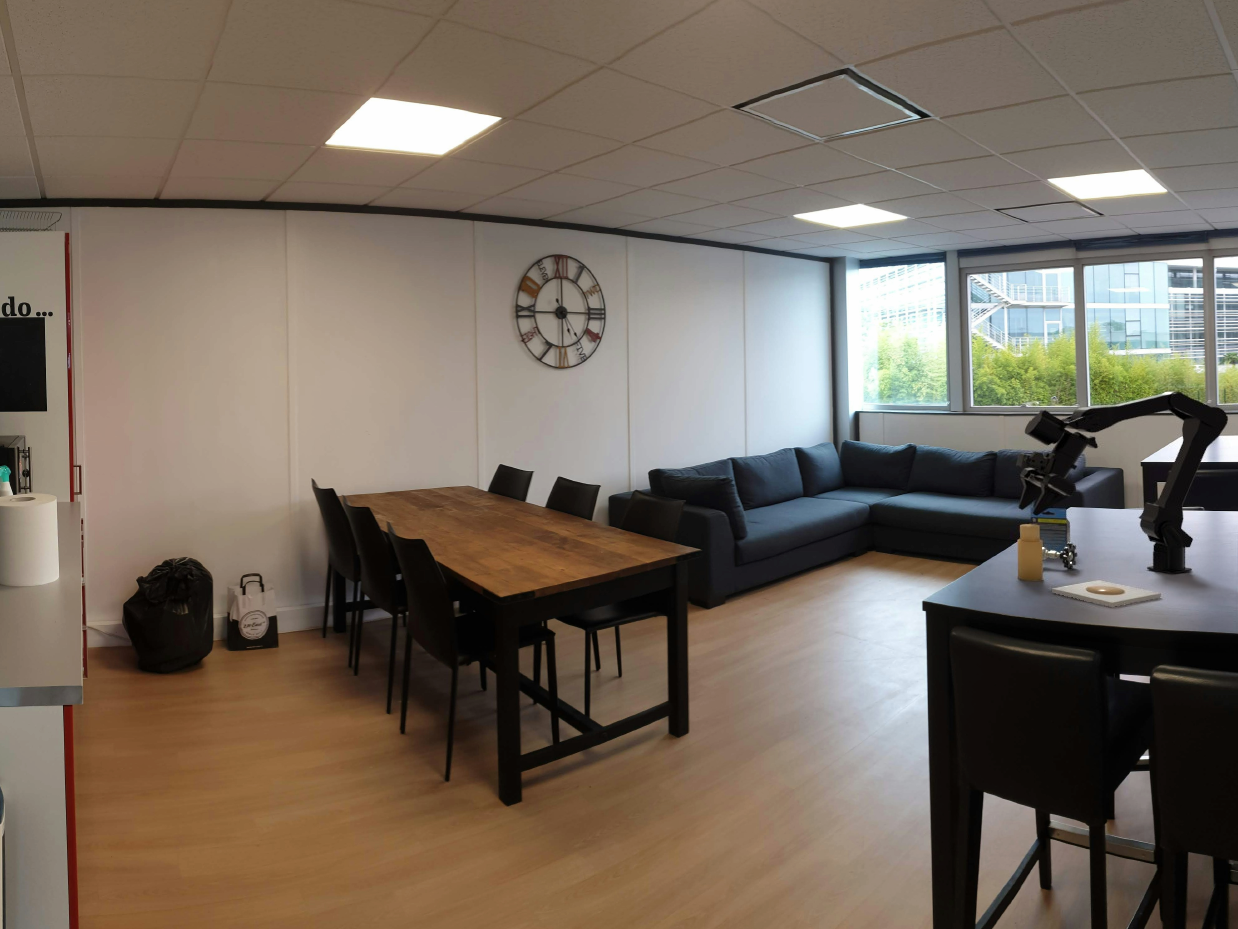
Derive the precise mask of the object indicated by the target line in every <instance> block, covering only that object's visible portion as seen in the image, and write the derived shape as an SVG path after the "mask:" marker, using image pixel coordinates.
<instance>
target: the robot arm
mask: <svg viewBox="0 0 1238 929" xmlns="http://www.w3.org/2000/svg"><path fill="white" fill-rule="evenodd" d="M1166 411H1169V412H1170V413H1171V414H1173V416H1175V417H1176V418H1178V419H1180V420H1181V421H1183V423H1182V426H1181V427H1182V428H1181V432H1182V442H1181V445H1180V448H1179V451H1178V452H1177V456H1176V458H1175V460H1174V462H1173V464H1172V467H1171V469H1170V471H1169V473H1168V476H1167V478H1166V481H1165V483H1164V485H1163V488H1162V490H1161V492H1160V495H1159V497H1158V499H1157V500H1155V501H1154V502H1153V503H1149V502H1145V504H1144V505H1143V506H1144V507H1143V510H1142V512H1141V514H1140V516H1138V519H1140V522H1139V527H1140V529H1141V530H1142V532H1143V533H1144V534H1145V535H1146V536H1147V537H1148V538H1147V539H1148V540H1149V541H1150V542H1153V543H1154V544H1153V549H1152V550H1153V551H1152V565H1151V566H1147V567H1146V569H1147V570H1150V571H1156V572H1160V573H1161V572H1162V573H1166V574H1170V575H1172V574H1173V575H1175V574H1180V573H1186V572H1193V568H1191V567H1186V548H1191V546H1192V543H1193V540H1194V538H1193V537H1192V536H1191V535H1189V534H1188V533H1187V532H1186V531H1185V530H1183V529H1182V528H1183V527H1182V526H1183V523H1184V510H1183V505H1184V502H1185V500H1186V497H1187V495H1188V493H1189V490H1190V488H1191V486H1192V484H1193V481H1194V479H1195V477H1196V474H1197V471H1198V470H1199V467H1200V466H1201V463H1202V460H1203V458H1204V455H1205V453H1206V451H1207V449H1208V447H1209V446H1210V445H1212V443H1213V442H1215V441H1216V440H1217V439H1218V438H1219V437H1220V435H1221V433H1222V432H1223V430H1224V429H1225V428H1226V426H1227V425H1228V421H1229V417H1228V415H1227V414H1226V412H1225V410H1224V409H1222V408H1220V407H1217V406H1209V405H1208V404H1207V403H1204V402H1202V401H1199V400H1196V399H1194V398H1192V397H1190V396H1188V395H1186V394H1185V393H1183V392H1181V391H1165V392H1163V393H1160V394H1156V395H1152V396H1147V397H1143V398H1139V399H1135V400H1131V401H1127V402H1122V403H1117V404H1114V405H1105V406H1104V405H1101V406H1086V407H1079V408H1077V409H1075V410H1074V411H1073V412H1072V414H1071V415H1068V416H1067V417H1065V418H1062V419H1060V418H1058V417H1057V416H1055V415H1053V414H1051V412H1049V411H1048V410H1046V409H1041V410H1040V411H1039V412H1038V413H1037V414H1036V415H1035V416H1034V417H1032V419H1031V420H1028V423H1027V424H1026V426H1025V428H1024V434H1025V435H1027V436H1029V437H1031V438H1033V439H1034V440H1036V441H1037V442H1040V443H1042V445H1045V446H1049V445H1051V444H1053V445H1054V447H1053V448H1052V450H1051V451H1050V452H1045V453H1044V454H1043V453H1042V452H1037V451H1033V452H1032V453H1031V454H1026V453H1022V452H1019V453H1018V456H1017V460H1016V465H1015V466H1016V467H1020V468H1023V470H1022V471H1021V473H1020V474H1019V476H1020V480H1021V482H1022V485H1023V490H1022V492H1021V493H1022V494H1021V496H1020V500H1019V504H1018V509H1019V510H1021V511H1024V510H1025V509H1027V507H1028V506H1030V505H1031V504H1033V503H1034V502H1035V501H1036V500H1037V499H1038V500H1037V501H1036V504H1035V505H1034V510H1033V512H1032V513H1033V514H1034V515H1036V516H1037V515H1039V514H1040V513H1042V512H1043V513H1045V512H1044V511H1045V510H1047V509H1049V508H1052V507H1053V506H1055V505H1057V504H1059V503H1060V502H1062V501H1065V500H1067V499H1068V498H1069V497H1071V498H1072V497H1073V496H1074V494H1075V493H1076V492H1077V486H1076V483H1073V482H1072V481H1069V480H1068V479H1066V478H1067V477H1068V475H1069V474H1070V473H1071V471H1072V470H1074V471H1075V470H1076V468H1077V467H1078V465H1076V463H1077V462H1078V460H1079V458H1080V457H1081V456H1082V454H1083V453H1084V451H1085V449H1086V448H1087V447H1088V448H1089V449H1090V448H1091V449H1098V447H1099V446H1098V443H1097V441H1096V440H1097V439H1096V436H1091V435H1090V436H1086V435H1085V434H1083V432H1084V433H1091V434H1093V433H1098V432H1102V431H1103V430H1106V429H1108V428H1111V427H1113V426H1114V425H1116V424H1118V423H1120V422H1122V421H1127V420H1132V419H1135V418H1140V417H1144V416H1148V415H1152V414H1156V413H1161V412H1166ZM1067 429H1069V430H1070V429H1071V430H1077V431H1075V432H1071V431H1069V430H1067ZM1043 513H1042V514H1043Z"/></svg>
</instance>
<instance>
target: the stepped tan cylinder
mask: <svg viewBox="0 0 1238 929" xmlns="http://www.w3.org/2000/svg"><path fill="white" fill-rule="evenodd" d="M1019 533H1020V535H1019V536H1020V537H1019V539H1017V542H1016V543H1017V579H1018V578H1019V580H1020V579H1021V581H1025V580H1026V582H1038V581H1039V580H1040V581H1043V580H1042V579H1044V576H1043V575H1044V570H1043V569H1044V561H1043V541H1042V540H1040V533H1039V525H1034V524H1031V523H1029V524H1027V523H1025V524H1020V525H1019ZM1040 581H1039V582H1040Z"/></svg>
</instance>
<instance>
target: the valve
mask: <svg viewBox="0 0 1238 929" xmlns="http://www.w3.org/2000/svg"><path fill="white" fill-rule="evenodd" d="M1067 546H1069V547H1064V552H1063V551H1061V552H1060V553H1057V551H1050V552H1049V551H1048V550H1047V549H1046V548H1044V547H1043V560H1044V561H1045V560H1046V559H1048V558H1050V559H1057V558H1059V559H1060V560H1062V563H1063V568H1064V569H1067V570H1069V569H1072V570H1074V566H1076V565H1077V561H1076V558H1077V557H1078V552H1076V549H1077V545H1076V544H1074V543H1073V542H1070V543H1067Z"/></svg>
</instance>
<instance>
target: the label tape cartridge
mask: <svg viewBox="0 0 1238 929" xmlns="http://www.w3.org/2000/svg"><path fill="white" fill-rule="evenodd" d="M1034 508H1035V506H1034V507H1031V506H1030V524H1034V525H1039V533H1040V540H1042V541H1043V547H1044V548H1046V549H1047V550H1048V551H1049V552H1050V551H1057V553H1060V552H1061V551H1063V552H1064V547H1069V546H1067V543H1071V524H1070V523H1071V522H1070V521H1069V520H1068V518H1067V508H1054V507H1053V508H1052V507H1050V508H1049V509H1047V510H1045V511H1044V512H1042V513H1040V514H1039V515H1037V516H1036V515H1034V514H1033V513H1032V512H1033V510H1034ZM1047 512H1049V513H1051V514H1044V513H1047ZM1052 513H1053V514H1052Z"/></svg>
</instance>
